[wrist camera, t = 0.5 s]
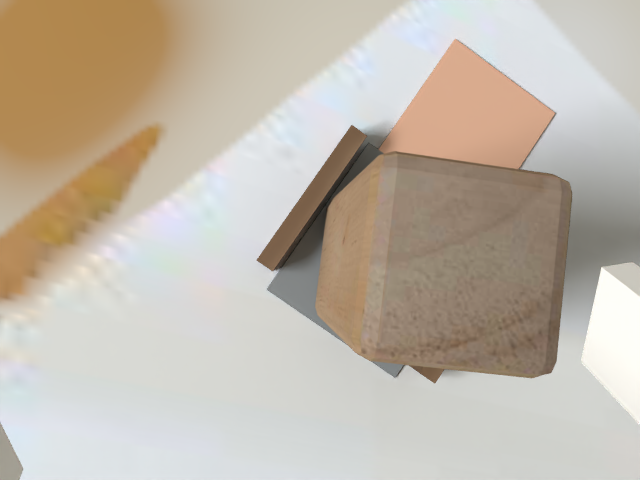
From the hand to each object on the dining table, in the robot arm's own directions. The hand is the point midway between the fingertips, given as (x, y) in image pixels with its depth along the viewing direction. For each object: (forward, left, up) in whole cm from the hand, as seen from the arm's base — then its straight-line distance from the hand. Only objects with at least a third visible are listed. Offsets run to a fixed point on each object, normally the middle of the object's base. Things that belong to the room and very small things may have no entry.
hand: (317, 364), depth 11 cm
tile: (-6, -21, -32) cm, 39 cm away
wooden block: (-6, -7, -32) cm, 33 cm away
